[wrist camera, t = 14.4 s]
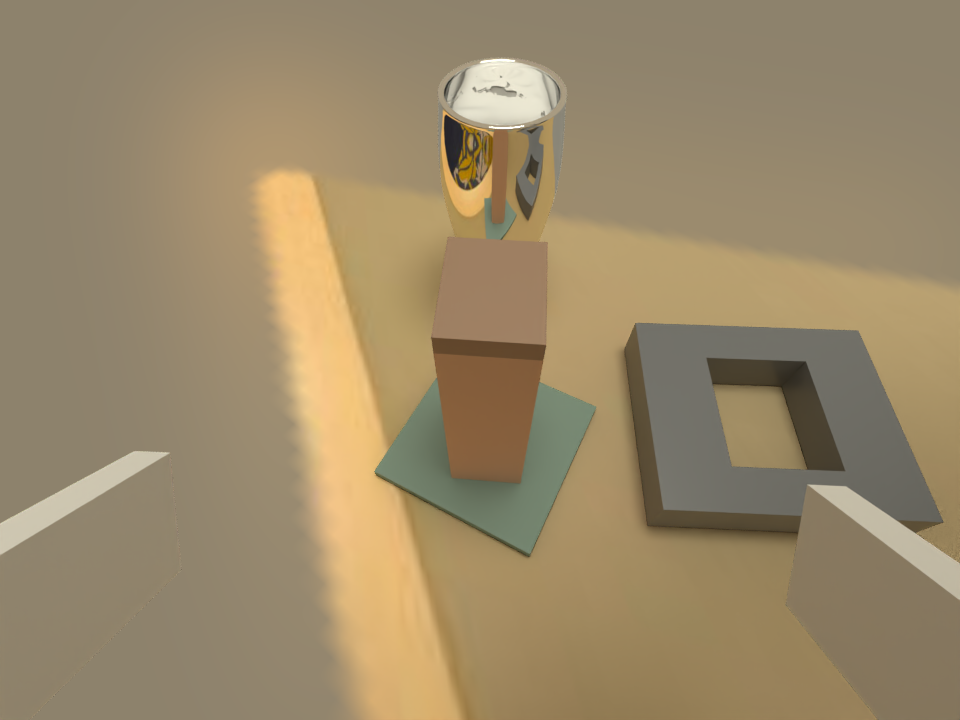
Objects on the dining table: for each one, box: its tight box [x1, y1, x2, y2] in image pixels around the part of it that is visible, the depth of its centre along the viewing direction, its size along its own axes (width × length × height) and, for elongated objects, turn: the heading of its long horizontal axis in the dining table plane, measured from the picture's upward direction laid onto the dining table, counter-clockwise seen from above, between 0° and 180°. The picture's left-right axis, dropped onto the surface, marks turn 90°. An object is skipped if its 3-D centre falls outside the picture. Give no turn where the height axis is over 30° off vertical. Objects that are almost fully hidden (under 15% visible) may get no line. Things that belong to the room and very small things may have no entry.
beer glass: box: [438, 58, 567, 242], centre depth 32 cm, size 7×7×15 cm
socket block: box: [625, 323, 943, 533], centre depth 30 cm, size 14×12×3 cm
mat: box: [374, 378, 596, 556], centre depth 31 cm, size 10×10×1 cm
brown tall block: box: [431, 237, 548, 484], centre depth 25 cm, size 4×5×14 cm
